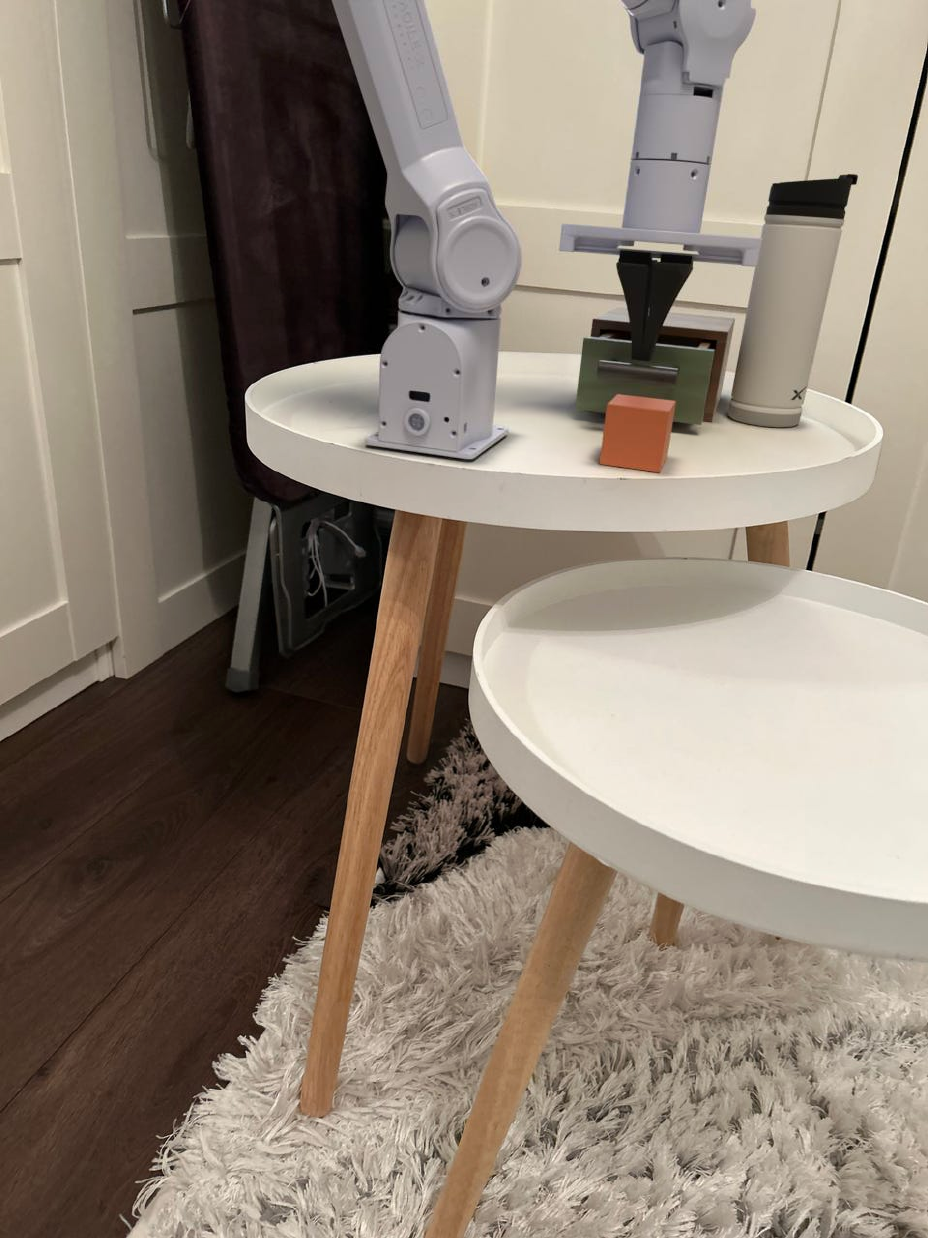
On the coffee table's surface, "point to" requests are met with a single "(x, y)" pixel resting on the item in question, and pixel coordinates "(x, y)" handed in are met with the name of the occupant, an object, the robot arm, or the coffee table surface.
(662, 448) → the block
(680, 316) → the cabinet
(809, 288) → the travel mug
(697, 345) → the drawer
